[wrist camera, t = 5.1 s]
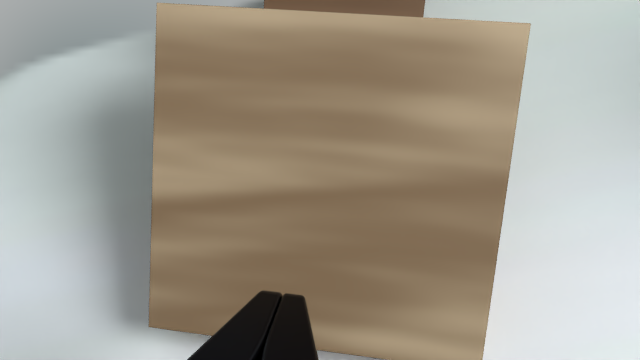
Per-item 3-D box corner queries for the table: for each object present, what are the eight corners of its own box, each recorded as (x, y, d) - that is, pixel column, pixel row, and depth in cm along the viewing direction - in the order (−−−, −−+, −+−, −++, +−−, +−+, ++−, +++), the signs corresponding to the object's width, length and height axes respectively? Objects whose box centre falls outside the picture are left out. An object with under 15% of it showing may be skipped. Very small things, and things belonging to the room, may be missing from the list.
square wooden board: (480, 372, 13) (530, 23, 11) (148, 327, 14) (156, 2, 12) (468, 344, 14) (510, 35, 13) (171, 306, 15) (180, 16, 14)
